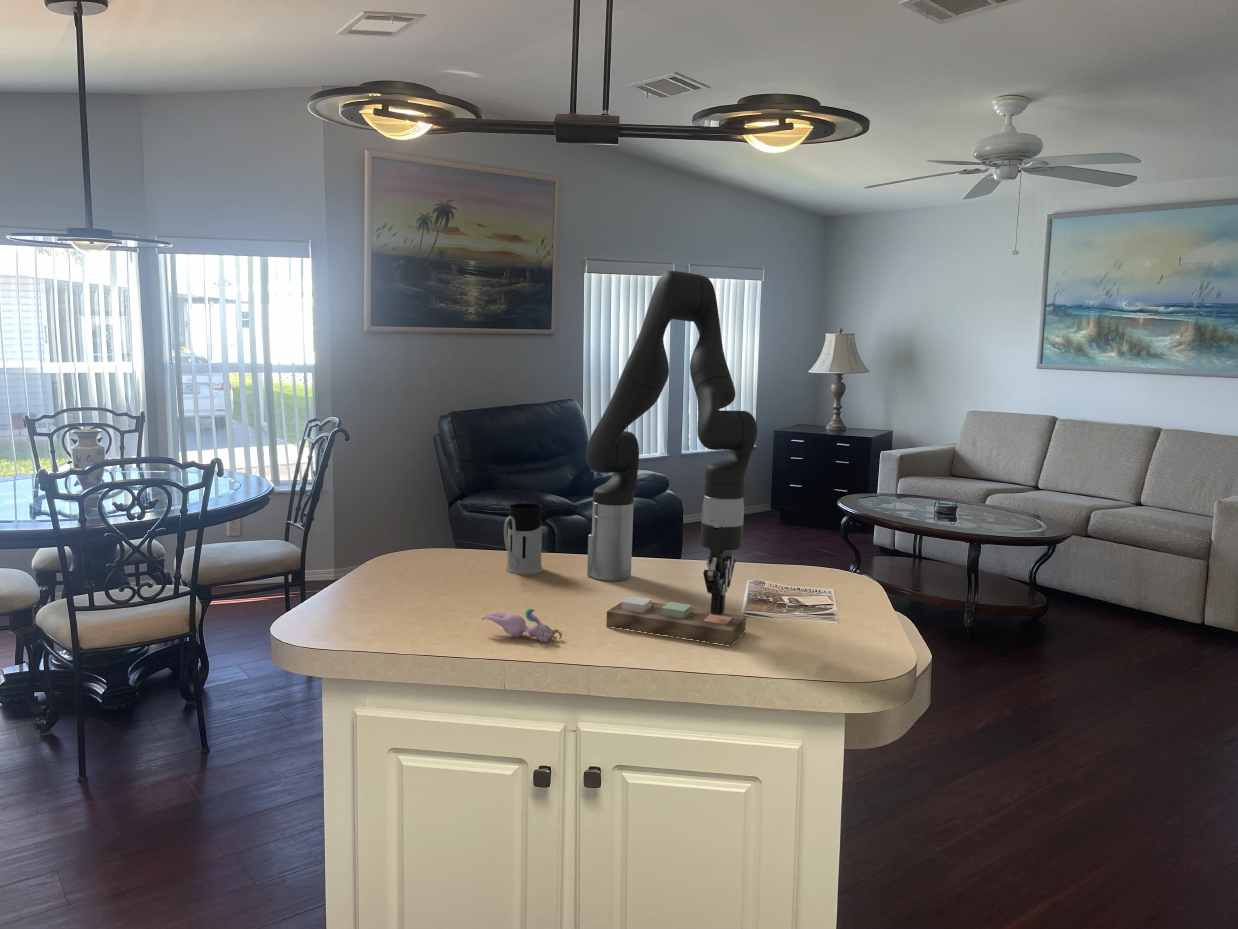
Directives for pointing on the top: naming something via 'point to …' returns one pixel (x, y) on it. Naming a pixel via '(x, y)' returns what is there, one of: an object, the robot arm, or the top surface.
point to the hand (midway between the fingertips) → (717, 613)
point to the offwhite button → (636, 604)
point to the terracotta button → (718, 619)
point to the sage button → (676, 610)
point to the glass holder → (524, 538)
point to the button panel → (678, 624)
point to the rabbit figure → (523, 626)
